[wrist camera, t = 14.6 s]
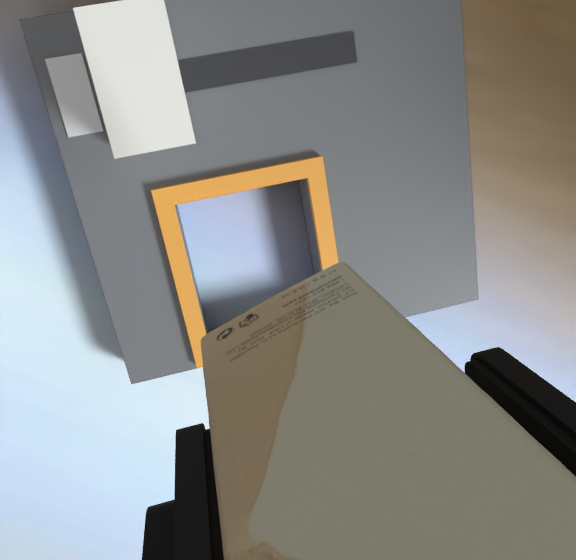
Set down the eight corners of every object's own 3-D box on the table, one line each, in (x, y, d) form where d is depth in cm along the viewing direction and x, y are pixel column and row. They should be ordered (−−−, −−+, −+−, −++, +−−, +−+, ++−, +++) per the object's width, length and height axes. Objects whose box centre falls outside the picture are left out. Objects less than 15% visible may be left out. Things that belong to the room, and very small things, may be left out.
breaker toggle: (165, 10, 21) (162, -6, 18) (194, 139, 22) (196, 143, 20) (87, 22, 20) (72, 7, 18) (122, 153, 22) (114, 159, 19)
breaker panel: (436, -36, 24) (463, -52, 22) (459, 287, 29) (482, 301, 27) (33, 27, 22) (16, 17, 20) (134, 365, 27) (130, 388, 25)
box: (195, 334, 13) (234, 1126, 3) (346, 253, 13) (910, 735, 3) (286, 481, 15) (514, 1293, 5) (419, 409, 15) (927, 1044, 5)
